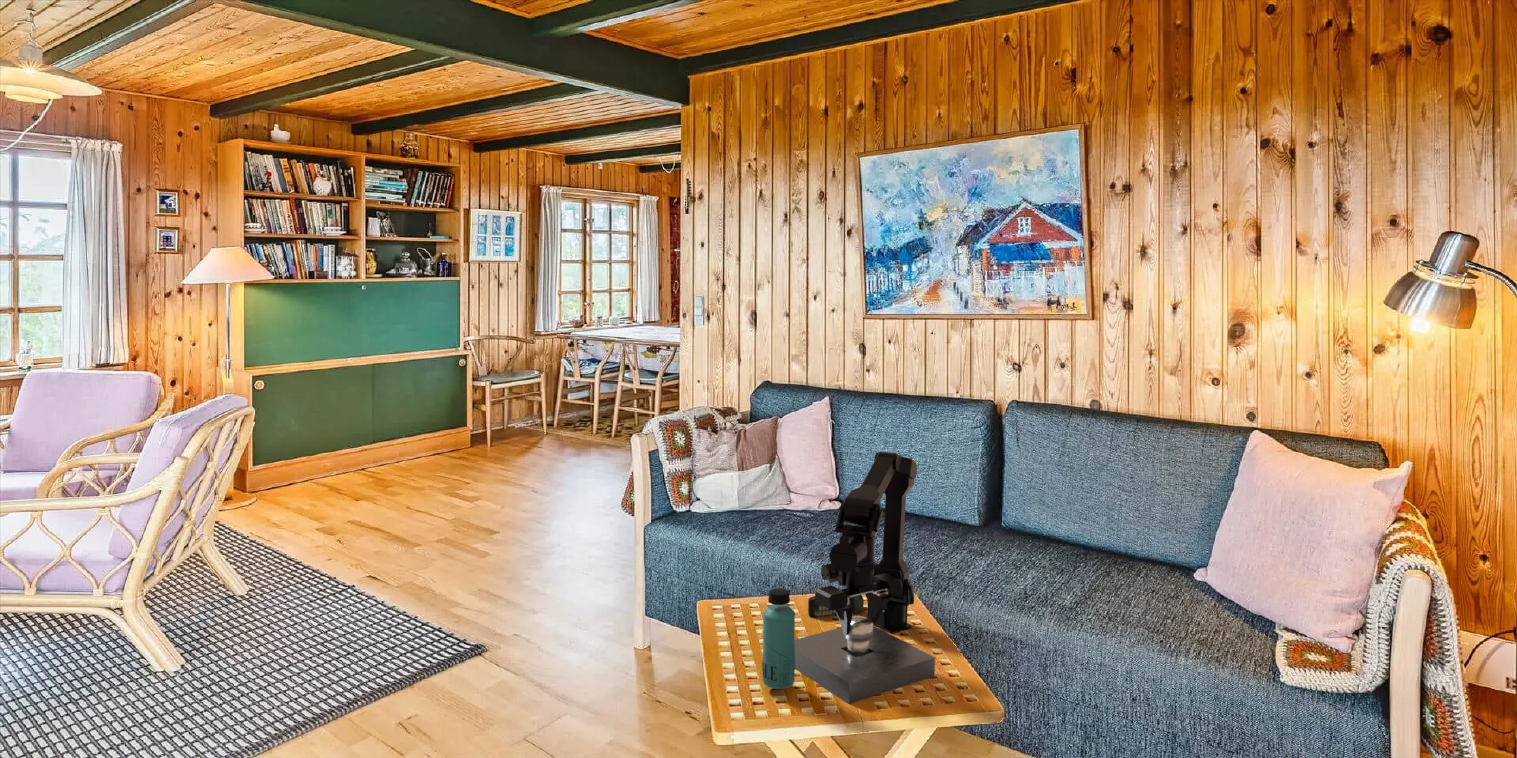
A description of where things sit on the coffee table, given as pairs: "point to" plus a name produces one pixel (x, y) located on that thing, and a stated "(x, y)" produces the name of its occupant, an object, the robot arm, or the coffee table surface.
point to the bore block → (861, 664)
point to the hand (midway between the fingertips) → (858, 631)
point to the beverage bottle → (778, 641)
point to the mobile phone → (820, 610)
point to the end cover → (859, 636)
